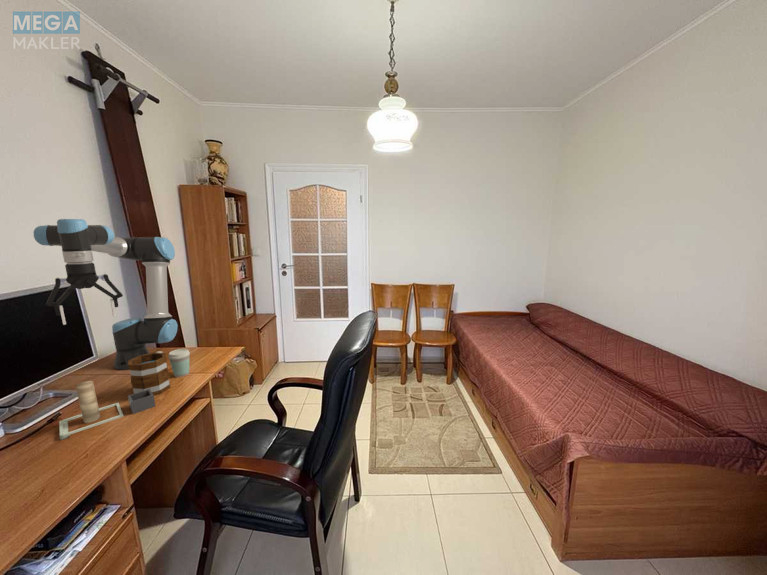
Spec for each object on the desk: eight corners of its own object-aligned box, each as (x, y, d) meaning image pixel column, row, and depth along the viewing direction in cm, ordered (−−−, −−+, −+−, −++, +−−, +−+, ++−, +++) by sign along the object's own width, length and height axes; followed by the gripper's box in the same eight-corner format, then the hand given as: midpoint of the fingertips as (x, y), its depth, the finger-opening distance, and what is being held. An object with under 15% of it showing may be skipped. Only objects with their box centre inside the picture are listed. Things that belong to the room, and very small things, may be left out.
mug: (164, 397, 125) (159, 363, 122) (125, 402, 121) (119, 367, 119) (181, 375, 143) (177, 345, 141) (148, 379, 140) (143, 348, 137)
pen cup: (130, 408, 117) (127, 395, 116) (151, 401, 122) (149, 388, 121) (133, 415, 113) (130, 402, 112) (155, 408, 117) (153, 395, 116)
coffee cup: (196, 371, 147) (193, 348, 145) (183, 380, 139) (180, 355, 137) (180, 371, 148) (177, 347, 146) (166, 379, 140) (162, 355, 138)
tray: (60, 424, 108) (59, 421, 108) (118, 405, 119) (118, 402, 119) (60, 440, 100) (59, 436, 100) (123, 418, 111) (123, 414, 111)
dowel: (83, 420, 109) (75, 384, 107) (99, 414, 113) (92, 379, 110) (84, 425, 106) (76, 388, 104) (101, 419, 110) (93, 383, 107)
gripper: (26, 267, 98) (40, 329, 102) (126, 260, 116) (134, 314, 120) (27, 265, 103) (41, 325, 107) (122, 259, 121) (131, 311, 125)
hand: (90, 319), depth 114 cm, fingers open, 13 cm apart
